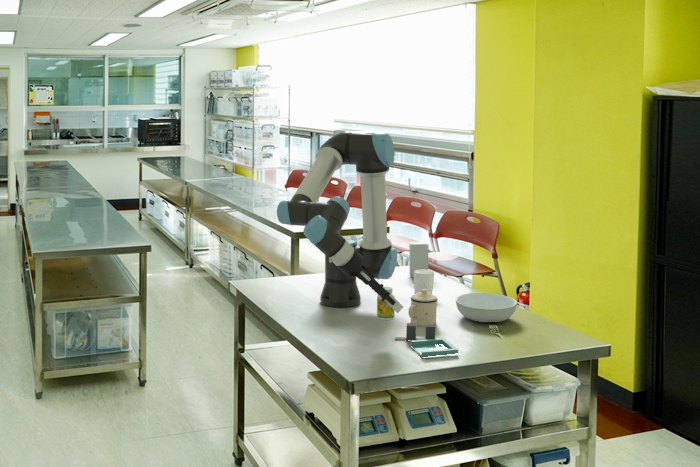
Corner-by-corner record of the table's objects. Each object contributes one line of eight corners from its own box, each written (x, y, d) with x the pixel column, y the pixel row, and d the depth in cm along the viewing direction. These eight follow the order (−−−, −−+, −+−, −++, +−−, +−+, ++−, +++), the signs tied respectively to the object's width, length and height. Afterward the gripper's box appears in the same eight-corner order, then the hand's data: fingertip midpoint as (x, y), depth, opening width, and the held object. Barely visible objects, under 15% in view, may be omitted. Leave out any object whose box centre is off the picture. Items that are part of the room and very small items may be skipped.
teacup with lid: (421, 317, 250) (422, 285, 248) (442, 323, 243) (443, 289, 241) (398, 324, 242) (399, 290, 240) (419, 330, 235) (420, 296, 233)
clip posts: (395, 340, 224) (395, 325, 223) (395, 337, 227) (395, 322, 226) (446, 342, 223) (446, 327, 222) (445, 339, 225) (446, 324, 225)
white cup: (433, 294, 281) (434, 269, 279) (433, 299, 273) (434, 274, 272) (413, 293, 282) (413, 268, 280) (412, 298, 274) (413, 273, 272)
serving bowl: (444, 314, 254) (445, 295, 253) (494, 308, 262) (495, 290, 261) (475, 331, 235) (476, 310, 234) (528, 324, 243) (529, 305, 242)
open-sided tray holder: (423, 358, 208) (423, 352, 208) (410, 346, 218) (410, 340, 218) (458, 356, 211) (458, 349, 210) (444, 344, 221) (444, 338, 221)
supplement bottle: (397, 319, 219) (397, 289, 217) (381, 321, 217) (382, 291, 215) (389, 314, 224) (389, 285, 222) (373, 316, 222) (374, 286, 220)
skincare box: (427, 274, 315) (428, 241, 312) (428, 277, 309) (429, 244, 306) (408, 274, 315) (409, 241, 313) (409, 277, 309) (409, 243, 307)
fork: (509, 351, 217) (510, 346, 217) (487, 330, 237) (487, 324, 236) (519, 351, 218) (520, 345, 218) (496, 330, 237) (497, 324, 237)
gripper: (330, 260, 222) (380, 307, 229) (344, 274, 205) (398, 324, 212) (347, 242, 223) (396, 290, 230) (362, 255, 205) (415, 306, 212)
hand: (397, 306), depth 221 cm, fingers closed on supplement bottle, 5 cm apart
